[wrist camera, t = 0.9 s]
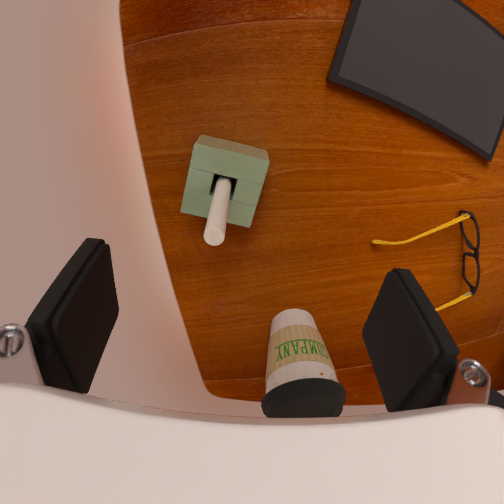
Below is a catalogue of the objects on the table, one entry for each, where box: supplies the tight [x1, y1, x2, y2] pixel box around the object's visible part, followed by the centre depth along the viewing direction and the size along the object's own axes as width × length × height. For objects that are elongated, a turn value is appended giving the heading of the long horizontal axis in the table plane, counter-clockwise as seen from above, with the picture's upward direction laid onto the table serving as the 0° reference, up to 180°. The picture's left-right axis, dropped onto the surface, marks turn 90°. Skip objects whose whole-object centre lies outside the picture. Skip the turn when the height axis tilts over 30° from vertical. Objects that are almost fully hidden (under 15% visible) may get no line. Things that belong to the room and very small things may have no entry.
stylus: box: [204, 175, 232, 246], centre depth 27 cm, size 1×1×14 cm
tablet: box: [326, 0, 504, 162], centre depth 25 cm, size 17×24×1 cm
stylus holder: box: [180, 134, 270, 228], centre depth 31 cm, size 7×7×4 cm
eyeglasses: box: [372, 210, 480, 311], centre depth 38 cm, size 14×14×4 cm
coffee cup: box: [261, 309, 346, 418], centre depth 38 cm, size 10×10×15 cm
